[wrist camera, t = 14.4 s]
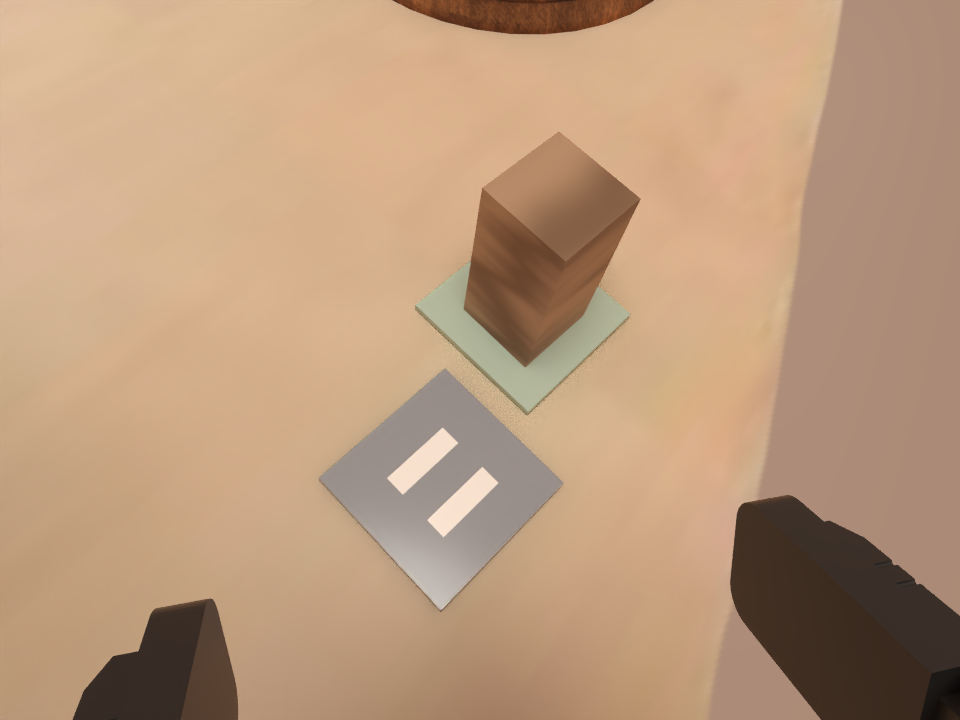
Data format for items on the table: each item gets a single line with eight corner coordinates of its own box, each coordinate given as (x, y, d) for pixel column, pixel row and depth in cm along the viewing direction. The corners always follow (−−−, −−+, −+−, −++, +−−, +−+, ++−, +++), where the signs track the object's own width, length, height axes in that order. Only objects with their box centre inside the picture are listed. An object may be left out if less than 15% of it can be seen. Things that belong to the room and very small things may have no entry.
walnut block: (463, 309, 40) (482, 188, 30) (522, 261, 42) (558, 131, 32) (525, 367, 39) (565, 261, 29) (583, 315, 41) (640, 198, 31)
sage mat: (415, 309, 40) (415, 305, 40) (520, 224, 44) (521, 219, 43) (526, 415, 38) (528, 411, 38) (628, 317, 42) (630, 314, 41)
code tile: (319, 480, 36) (318, 478, 35) (444, 371, 39) (445, 368, 39) (440, 611, 34) (440, 610, 33) (562, 484, 37) (563, 483, 37)
